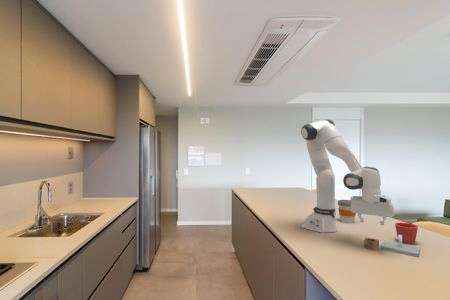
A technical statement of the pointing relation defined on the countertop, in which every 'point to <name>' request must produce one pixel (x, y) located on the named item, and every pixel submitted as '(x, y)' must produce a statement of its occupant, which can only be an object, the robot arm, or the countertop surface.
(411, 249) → the post block
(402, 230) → the flower pot
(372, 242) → the collar
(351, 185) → the robot arm
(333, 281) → the countertop surface
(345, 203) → the reusable coffee cup
